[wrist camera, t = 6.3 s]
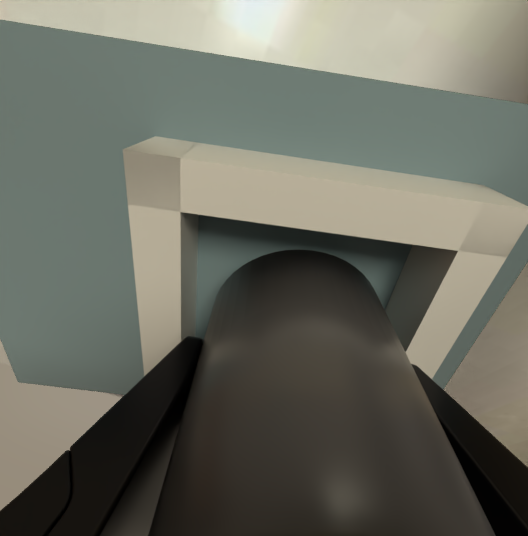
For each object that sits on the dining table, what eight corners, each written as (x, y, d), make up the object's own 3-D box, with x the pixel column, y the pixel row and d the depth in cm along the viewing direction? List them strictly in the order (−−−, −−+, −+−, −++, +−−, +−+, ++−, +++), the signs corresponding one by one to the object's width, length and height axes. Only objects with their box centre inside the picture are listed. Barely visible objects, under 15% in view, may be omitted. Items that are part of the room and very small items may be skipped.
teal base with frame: (513, 109, 11) (724, 128, 6) (389, 362, 18) (436, 476, 12) (-1, 27, 10) (-281, -34, 5) (70, 322, 17) (-20, 425, 12)
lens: (410, 259, 8) (814, 771, 2) (355, 389, 11) (459, 779, 5) (212, 234, 8) (6, 713, 2) (206, 372, 11) (113, 756, 4)
